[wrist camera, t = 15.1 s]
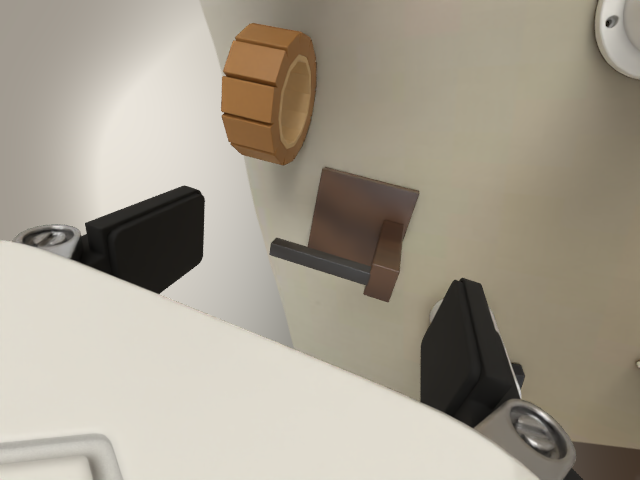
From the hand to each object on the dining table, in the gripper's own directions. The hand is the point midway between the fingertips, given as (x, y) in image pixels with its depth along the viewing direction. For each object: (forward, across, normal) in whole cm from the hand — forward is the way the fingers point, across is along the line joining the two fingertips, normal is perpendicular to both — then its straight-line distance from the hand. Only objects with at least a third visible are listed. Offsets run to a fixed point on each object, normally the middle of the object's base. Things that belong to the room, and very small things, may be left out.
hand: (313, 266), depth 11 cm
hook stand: (+28, +1, +10) cm, 30 cm away
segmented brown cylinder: (+22, +12, -2) cm, 26 cm away
